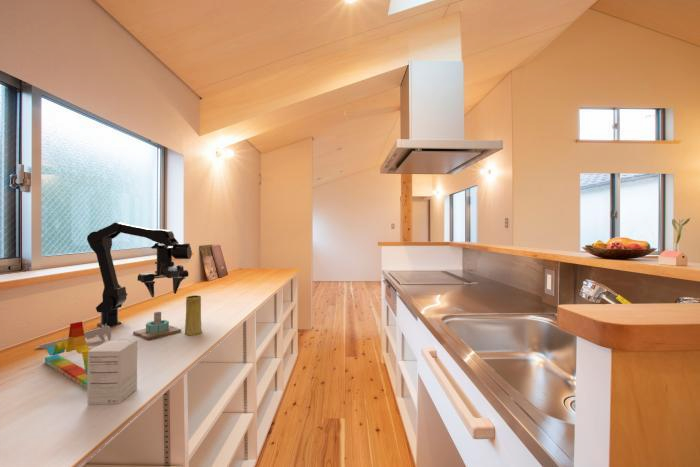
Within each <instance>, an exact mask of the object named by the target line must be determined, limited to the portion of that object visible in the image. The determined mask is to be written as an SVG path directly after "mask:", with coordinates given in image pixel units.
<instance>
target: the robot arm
mask: <svg viewBox="0 0 700 467" xmlns="http://www.w3.org/2000/svg"><path fill="white" fill-rule="evenodd" d="M120 234H125V235H131V236H136V237H141V238H146V239H148V240H150V241H153V242H154V243H155V244H153V245H152V246H151V247H150V248H151V249H152V250H153V249H155V250H156V261H155V262H154V264H155V265H156V270H155V271H154V273H151V272H145V273H144V272H143V273H139V274H138V275H137V281H139V282H140V283H143V284H144V285H145V287H146V288H147V290H148V293H149V294H150V296H151V298H154V297H155V283H156V281H155V279H163V278H167V279H172V291H173V294H177V292H178V289H179V286H180V285H181V282H182V281H183V280H185V279H186V278H187V277H189V271H188V270H187V269H184V265H183V264H181V265H177V266H176V265H175V262H174V260H173V258H174V259H175V260H191V258H192V254H193V252H192V248H191V244H190V243H179V241H178V240H177V239H176V238H175V234H174V232H173V231H172V230H168V229H152V228H151V229H150V228H147V227H142V226H136V225H132V224H126V223H123V222H113V223H111V224H110V225H108V226H106V227H103V228H101V229H98V230H97V231H92V232H89V233H88V235H87V236H86V240H87V243H88V246H89V247H90V249H91V250H92V251H93V252H94V253H95V254H96V258H97V259H96V260H97V263H98V266H99V270H100V274H101V278H102V282H103V291H102V296H101V297H102V301H101V302H100V303H99V304H98V305H97V306H96V307H95V311H96V312H97V313H100V322H99V323H97V326H100V327H102V326H101V325H104V326H105V324H107V326H109V327H112V326H116V325H121V324H122V322H121V321H119V308H122V307H123V304H124V303H125V301H126V300H127V296H128V293H127V290H126V289H127V288H126V286H121V284H119V282H118V278H117V272H116V269H115V265H114V261H113V256H112V253H111V250H112V246H113V240H114V239H115V238H116V237H118V236H119V235H120Z"/></svg>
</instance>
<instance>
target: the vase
mask: <svg viewBox="0 0 700 467" xmlns="http://www.w3.org/2000/svg"><path fill="white" fill-rule="evenodd" d="M201 296H202V295H198V294H197V295H195V294H194V295H188V296H186V298H185V320H184V321H185V323H184V325H185V326H184V328H185V329H184V335H186V336H194V335H199V334H201V333H202V332H203V331H202V330H203V329H202V297H201Z"/></svg>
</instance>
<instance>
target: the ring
mask: <svg viewBox="0 0 700 467" xmlns="http://www.w3.org/2000/svg"><path fill="white" fill-rule="evenodd" d="M169 323H170V321H169V320H166V319H161V324H155V325H154V320H153V321H152V320H151V321H149V322H147V323H145V329H146V332H147V333H160V332H164V331H167V330H168V329H169V325H170V324H169Z"/></svg>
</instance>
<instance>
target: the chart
mask: <svg viewBox="0 0 700 467" xmlns="http://www.w3.org/2000/svg"><path fill="white" fill-rule="evenodd" d="M69 325H70V326H69V332H68V337H67V338H68V340H65V341H61V342H57V343H56V344H55V346H51V347H47V348H45V349H46V351H47V353H48V355H49V356H45V357H44V363H45V364H46V365H47V366H49V367H51V368H53V369H54V370H56V371H57V372H59V373H61V374H62V375H63V376H65V377H67V378H69V379H70V380H72V381H73V382H75V384H78V385H80V386H81V387H83V388H85V389H86V390H87V364H88V362H87V358H88V353H87V352H88V351H90V350H92V349H93V348H90V347H89V346H88V344H87V342H86V338H85V336H84V333H85V330H84V326H83V321H78V322H73V323H70V324H69ZM73 351H76V353H77V354H79V355H82V359H83V360H82V361H83V364H84V368H83V367H82V366H79V365H77V364H76V363H74V362H72V361H71V360H69V359H67V358H65V357H63V356H62V355H60V354H63V353H65V352H66V353H70V352H73Z"/></svg>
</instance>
